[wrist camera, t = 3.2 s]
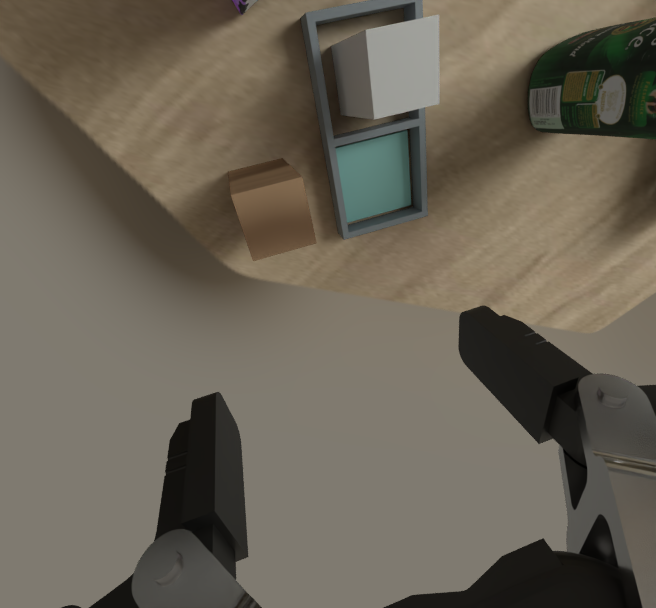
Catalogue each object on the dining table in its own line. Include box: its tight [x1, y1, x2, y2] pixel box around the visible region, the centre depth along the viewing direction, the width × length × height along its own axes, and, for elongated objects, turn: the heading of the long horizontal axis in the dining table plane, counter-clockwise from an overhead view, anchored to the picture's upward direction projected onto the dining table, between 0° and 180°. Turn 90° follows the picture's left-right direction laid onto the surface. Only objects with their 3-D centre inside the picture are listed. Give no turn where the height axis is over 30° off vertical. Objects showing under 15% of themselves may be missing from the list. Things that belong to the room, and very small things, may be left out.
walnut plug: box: [228, 158, 316, 261], centre depth 29 cm, size 5×5×9 cm
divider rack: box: [300, 0, 439, 240], centre depth 29 cm, size 18×9×8 cm, turn 11°
